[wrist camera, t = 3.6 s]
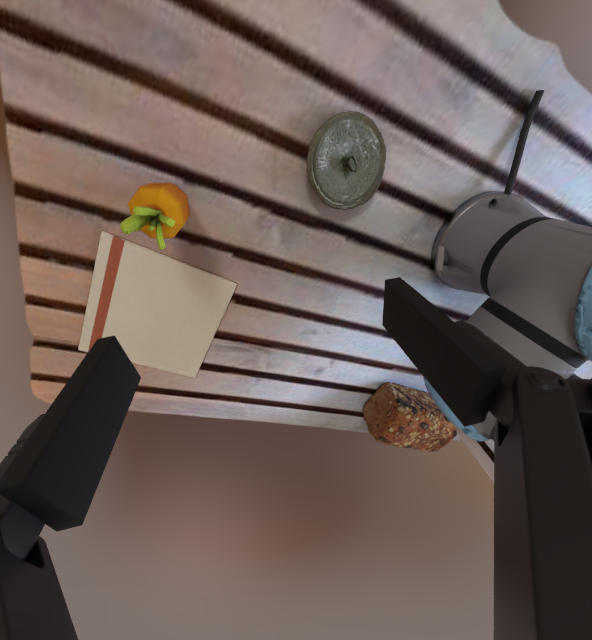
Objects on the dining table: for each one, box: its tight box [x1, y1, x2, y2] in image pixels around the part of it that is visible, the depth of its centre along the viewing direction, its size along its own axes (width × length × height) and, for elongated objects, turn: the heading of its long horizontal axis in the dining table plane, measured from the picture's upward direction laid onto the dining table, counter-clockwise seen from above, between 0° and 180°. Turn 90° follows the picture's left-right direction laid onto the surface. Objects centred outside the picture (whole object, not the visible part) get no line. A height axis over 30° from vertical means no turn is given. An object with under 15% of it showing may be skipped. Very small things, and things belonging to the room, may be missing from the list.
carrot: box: [120, 183, 190, 250], centre depth 28 cm, size 5×5×15 cm
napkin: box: [78, 231, 237, 378], centre depth 42 cm, size 20×18×1 cm
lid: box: [307, 111, 386, 210], centre depth 34 cm, size 11×10×5 cm
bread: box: [363, 382, 458, 452], centre depth 60 cm, size 19×11×10 cm, turn 62°
